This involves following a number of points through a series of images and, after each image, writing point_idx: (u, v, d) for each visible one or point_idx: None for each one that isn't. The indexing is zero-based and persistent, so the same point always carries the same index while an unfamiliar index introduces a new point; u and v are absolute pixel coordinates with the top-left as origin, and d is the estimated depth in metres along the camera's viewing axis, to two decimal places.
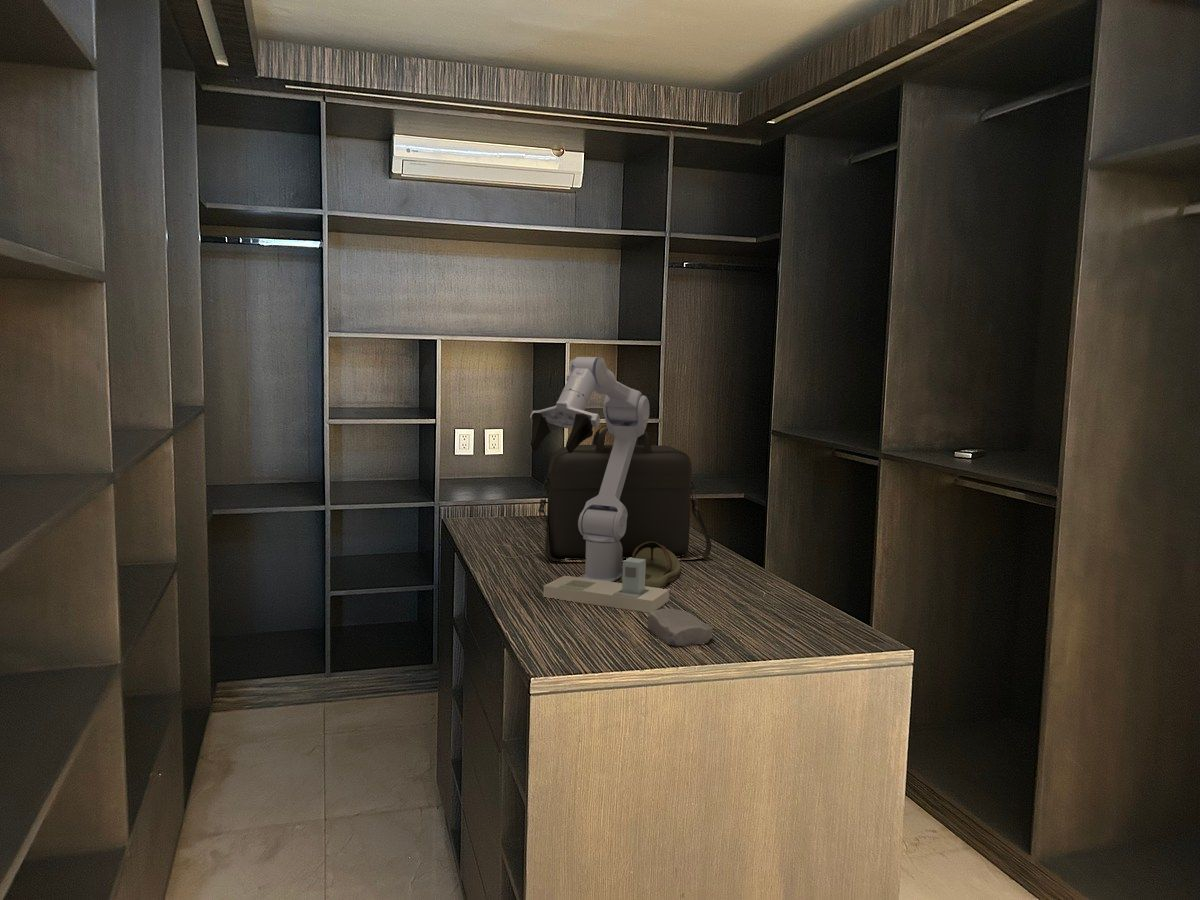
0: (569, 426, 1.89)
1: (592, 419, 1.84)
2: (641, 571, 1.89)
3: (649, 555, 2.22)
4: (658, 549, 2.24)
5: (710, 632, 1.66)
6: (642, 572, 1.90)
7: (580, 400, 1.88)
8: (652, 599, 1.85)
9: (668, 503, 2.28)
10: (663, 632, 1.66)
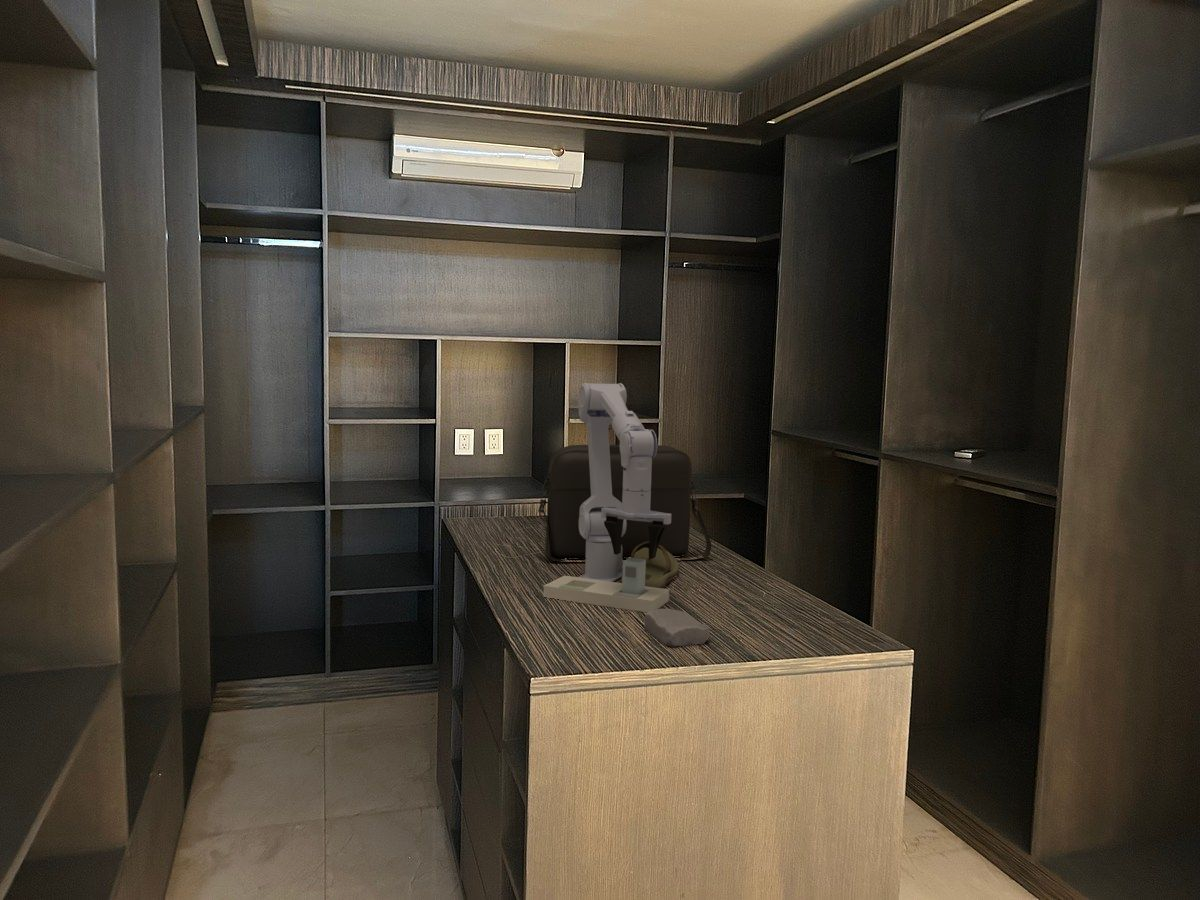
0: None
1: (664, 523, 1.86)
2: (641, 571, 1.89)
3: (646, 555, 2.22)
4: None
5: (707, 632, 1.66)
6: (642, 572, 1.90)
7: (645, 498, 1.86)
8: (652, 599, 1.85)
9: (668, 503, 2.28)
10: (660, 632, 1.66)
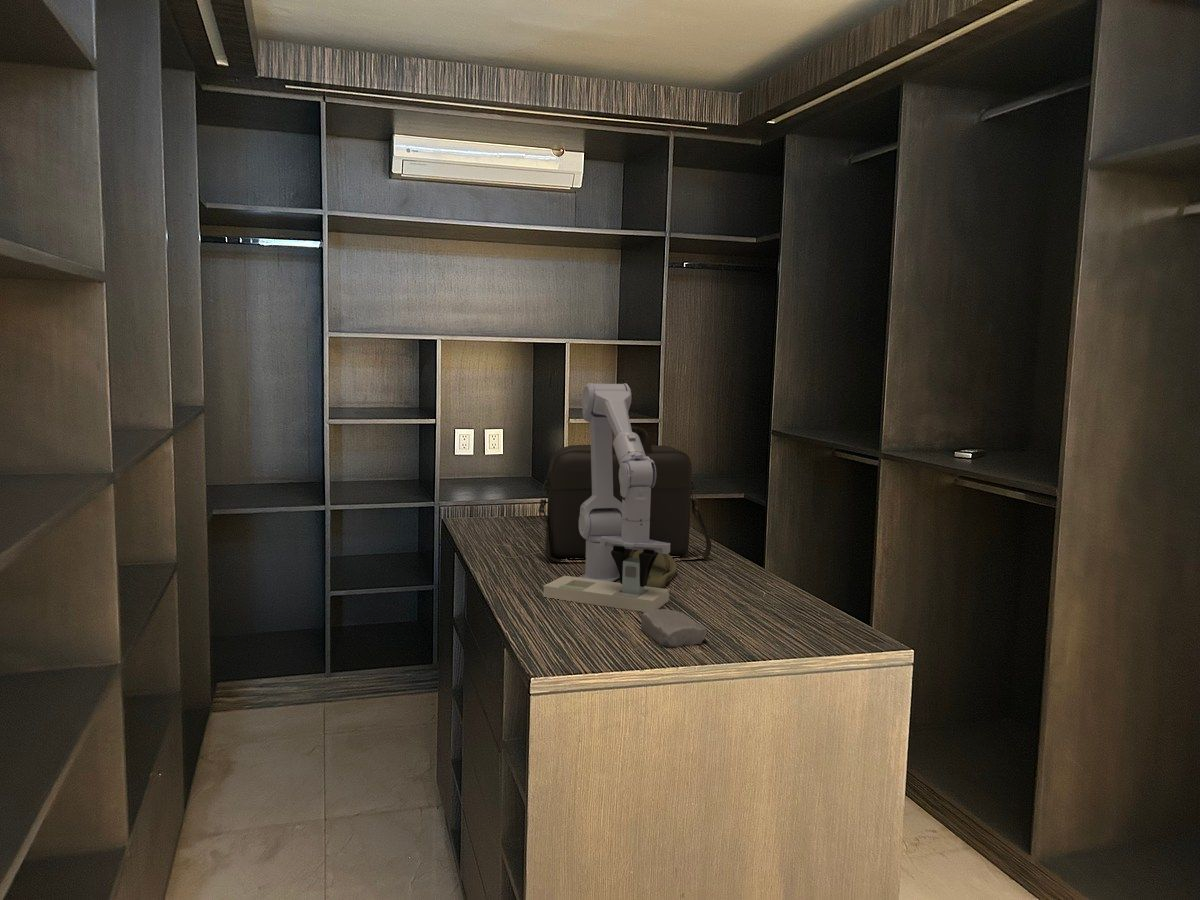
0: None
1: (663, 552, 1.86)
2: None
3: None
4: None
5: (703, 633, 1.66)
6: None
7: (644, 527, 1.87)
8: (652, 599, 1.85)
9: (668, 503, 2.28)
10: (657, 633, 1.66)
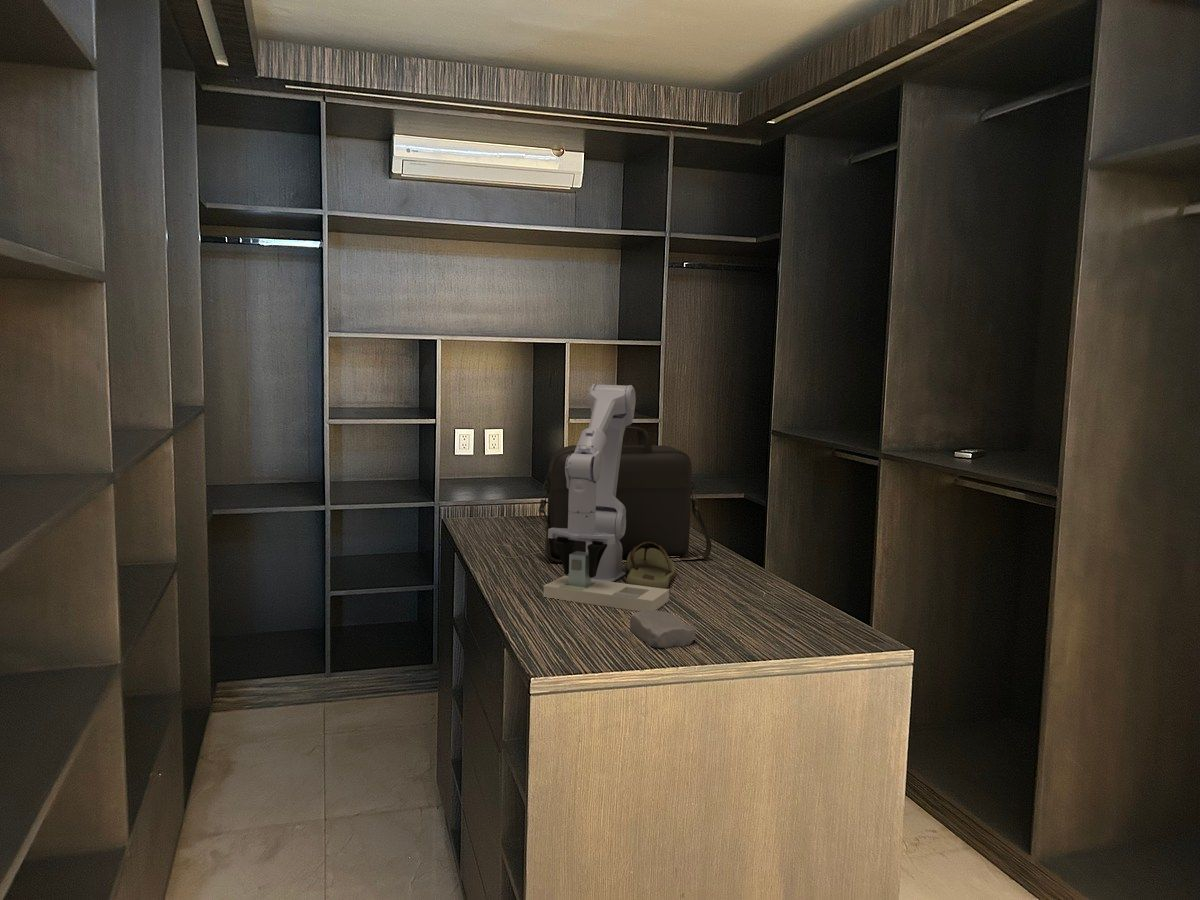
0: None
1: (608, 543, 1.91)
2: (587, 564, 1.94)
3: (641, 556, 2.21)
4: (648, 549, 2.24)
5: (693, 633, 1.65)
6: (588, 565, 1.94)
7: (589, 519, 1.92)
8: (652, 599, 1.85)
9: (668, 503, 2.28)
10: (646, 634, 1.65)
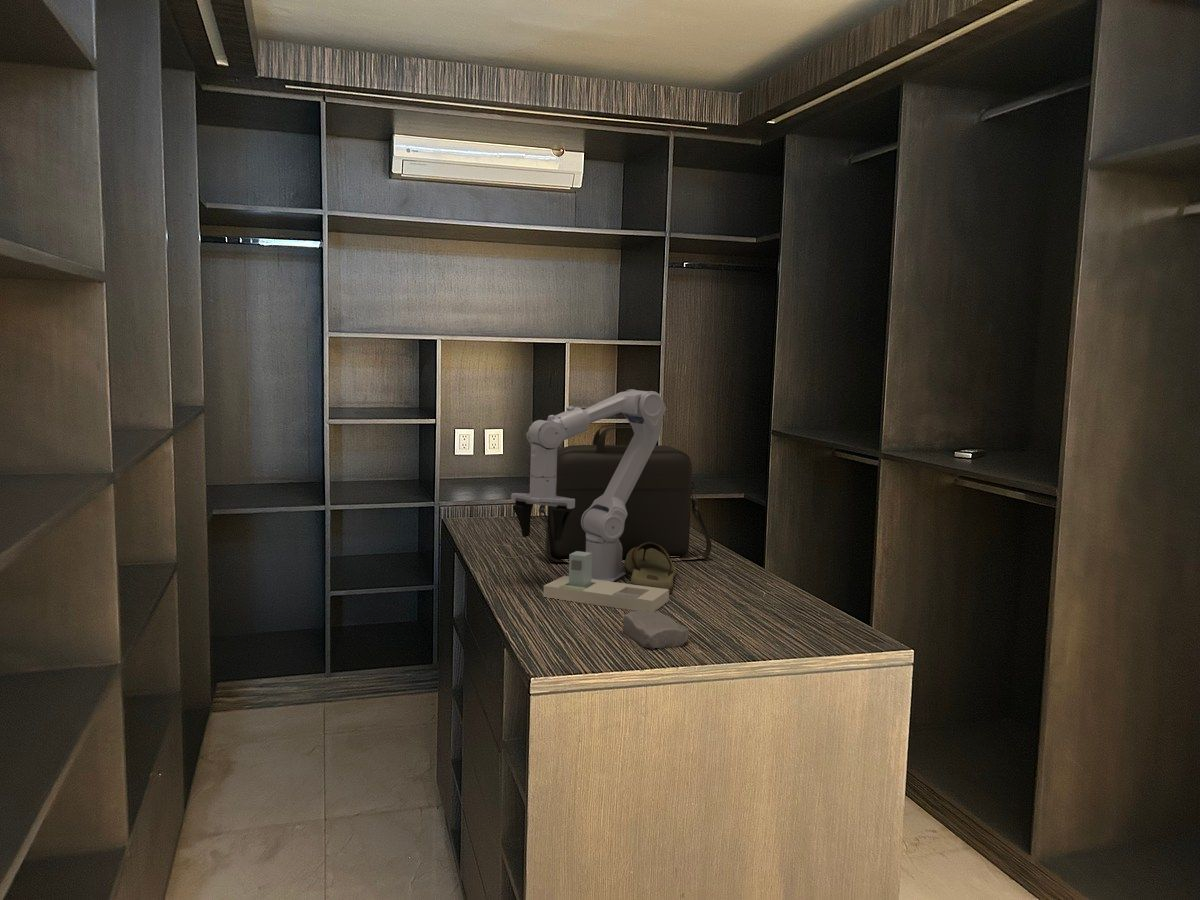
0: None
1: (568, 507, 1.98)
2: (587, 564, 1.94)
3: (639, 556, 2.21)
4: (646, 549, 2.23)
5: (686, 634, 1.65)
6: (588, 565, 1.94)
7: (550, 484, 1.99)
8: (652, 599, 1.85)
9: (668, 503, 2.28)
10: (639, 634, 1.64)
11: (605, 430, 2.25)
